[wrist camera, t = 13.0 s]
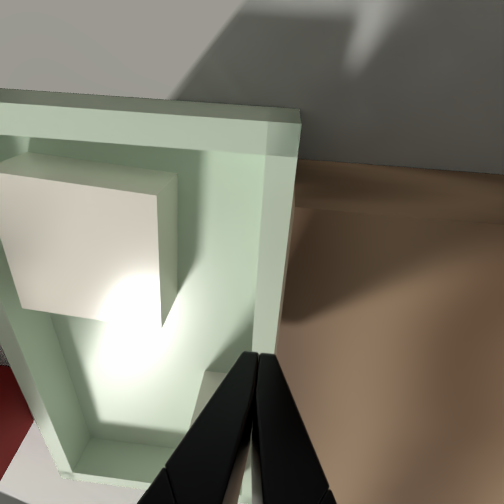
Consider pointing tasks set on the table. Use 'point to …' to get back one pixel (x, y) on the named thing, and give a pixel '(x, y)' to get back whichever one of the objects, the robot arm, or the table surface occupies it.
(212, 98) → the table surface
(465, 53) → the table surface
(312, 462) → the robot arm
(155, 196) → the tile
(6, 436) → the french fries
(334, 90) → the table surface
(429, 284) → the board
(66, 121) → the tray
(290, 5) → the table surface
